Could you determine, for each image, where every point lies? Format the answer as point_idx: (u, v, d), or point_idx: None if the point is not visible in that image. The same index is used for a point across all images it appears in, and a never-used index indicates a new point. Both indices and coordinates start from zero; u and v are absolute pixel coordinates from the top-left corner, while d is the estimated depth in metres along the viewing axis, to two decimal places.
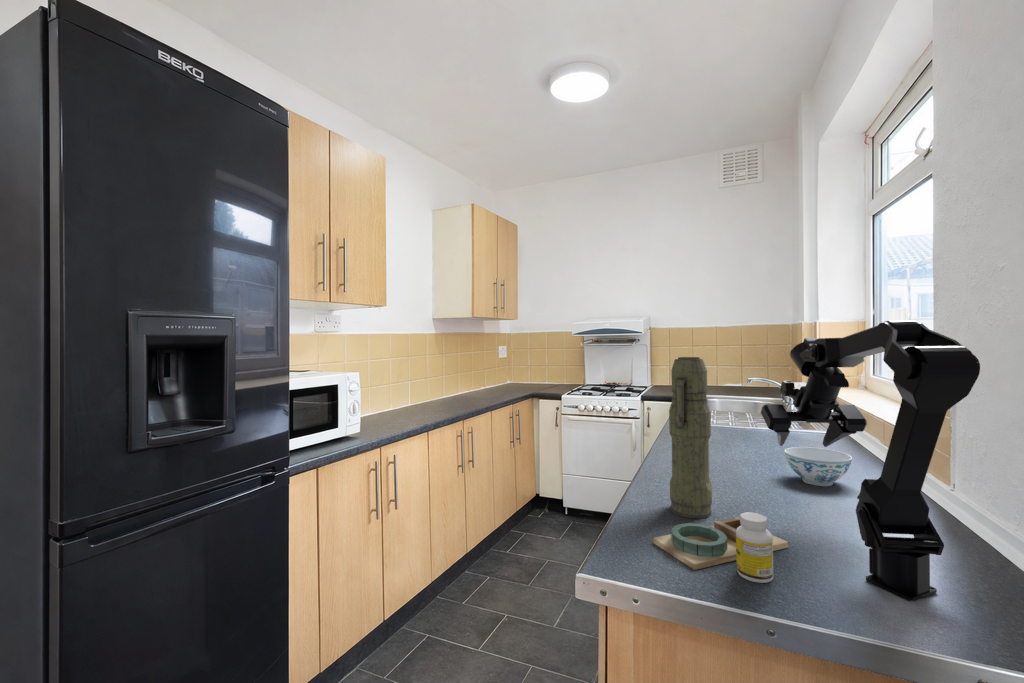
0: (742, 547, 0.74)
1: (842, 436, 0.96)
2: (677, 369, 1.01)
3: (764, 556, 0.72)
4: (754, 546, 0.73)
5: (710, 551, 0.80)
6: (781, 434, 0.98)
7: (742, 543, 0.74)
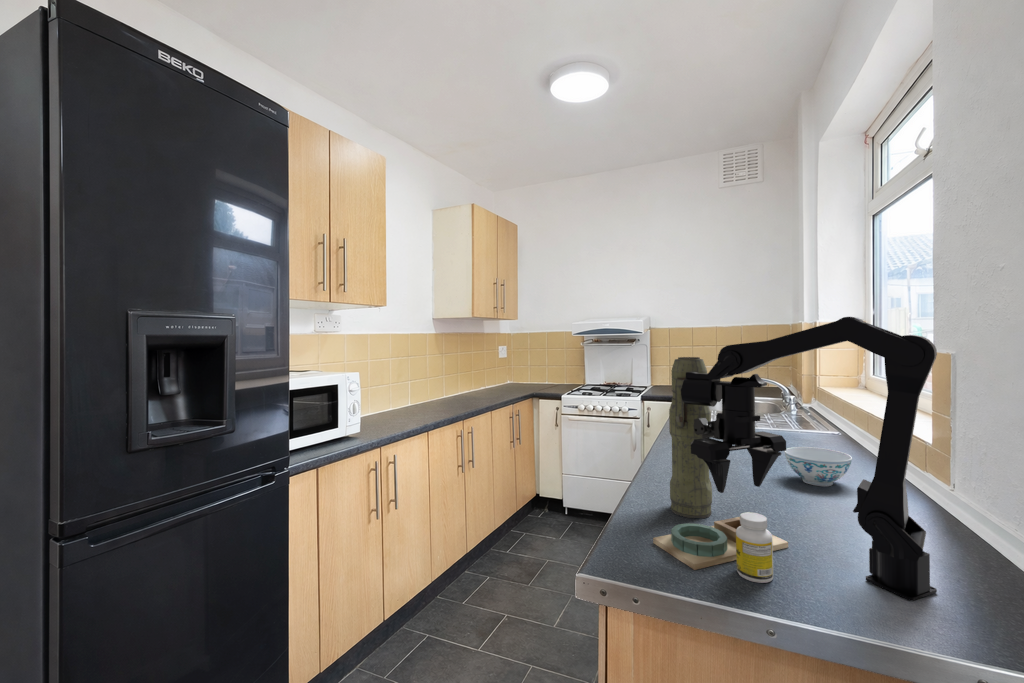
0: (742, 547, 0.74)
1: (772, 462, 0.87)
2: (677, 369, 1.01)
3: (764, 556, 0.73)
4: (754, 546, 0.73)
5: (710, 551, 0.80)
6: (723, 467, 0.83)
7: (742, 543, 0.74)
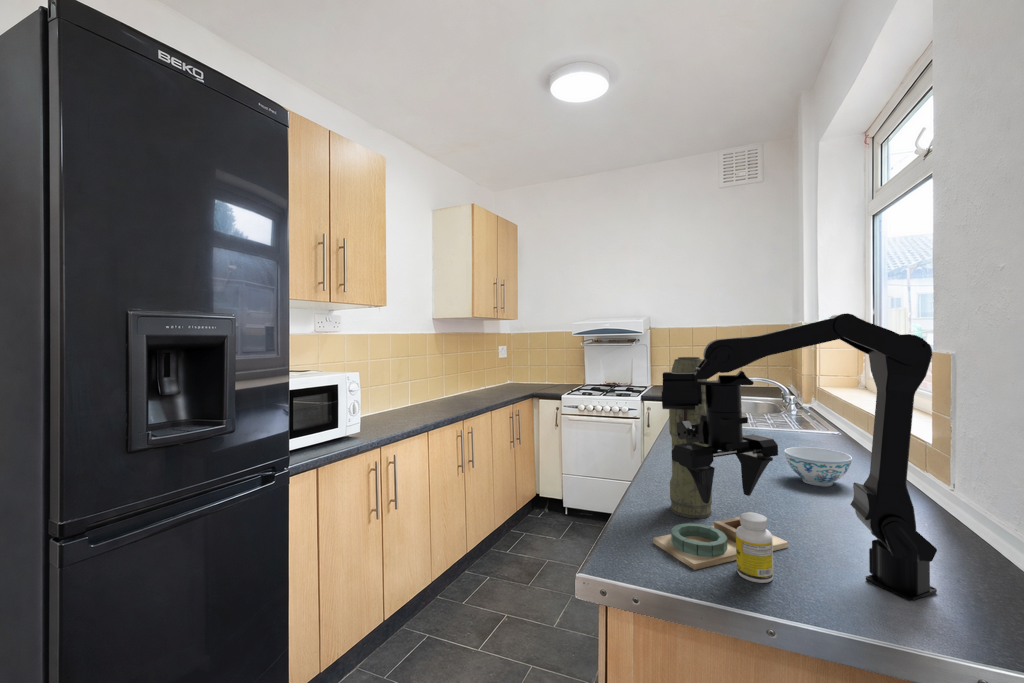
0: (742, 547, 0.74)
1: (762, 468, 0.79)
2: (677, 369, 1.01)
3: (764, 556, 0.72)
4: (754, 546, 0.73)
5: (710, 551, 0.80)
6: (707, 475, 0.75)
7: (742, 543, 0.74)
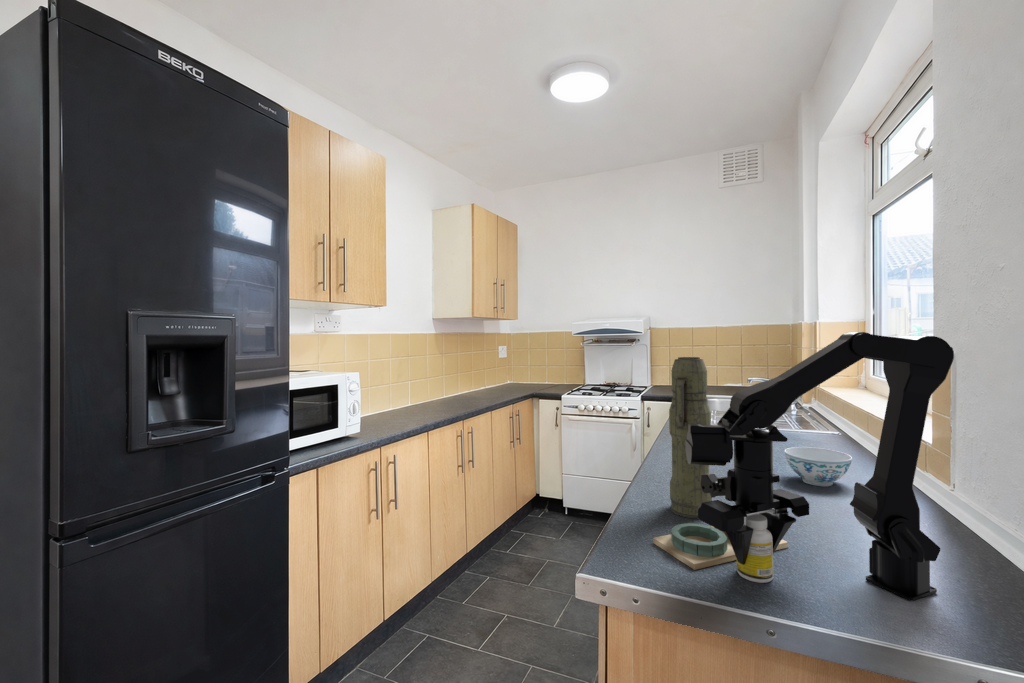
0: None
1: (785, 530, 0.74)
2: (677, 369, 1.01)
3: (764, 556, 0.72)
4: (754, 546, 0.73)
5: (710, 551, 0.80)
6: (745, 536, 0.71)
7: None
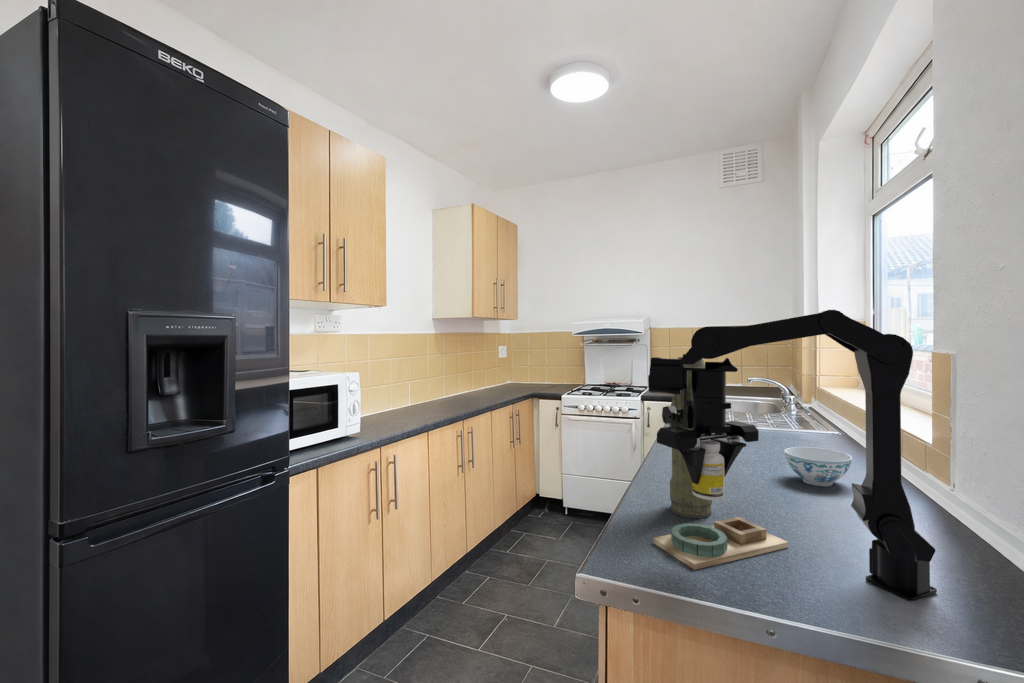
0: None
1: (735, 454, 0.81)
2: None
3: (715, 475, 0.79)
4: (707, 467, 0.80)
5: (710, 551, 0.80)
6: (698, 456, 0.78)
7: None
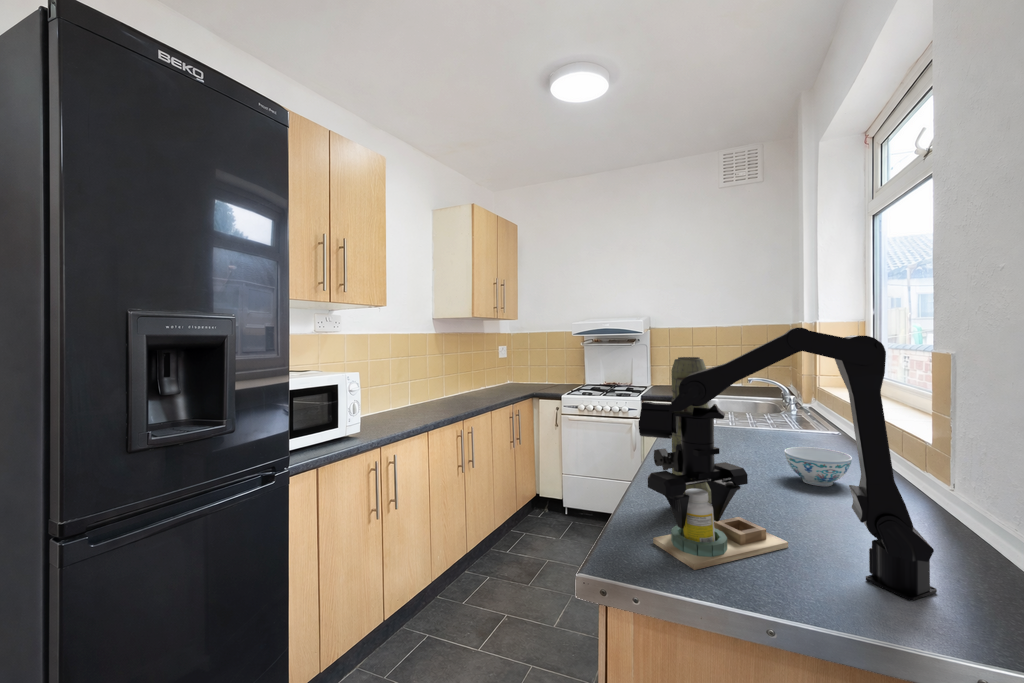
0: (686, 519, 0.83)
1: (730, 496, 0.84)
2: (677, 369, 1.01)
3: (705, 526, 0.82)
4: (696, 517, 0.82)
5: (710, 551, 0.80)
6: (682, 502, 0.80)
7: (686, 515, 0.83)
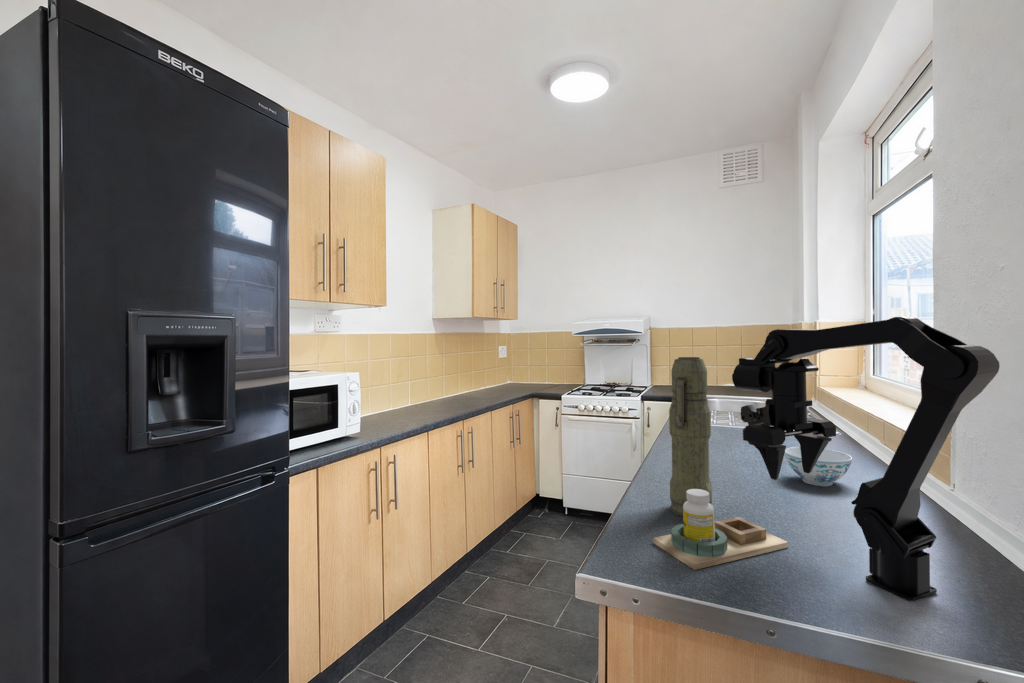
0: (687, 519, 0.83)
1: (822, 448, 0.87)
2: (677, 369, 1.01)
3: (705, 526, 0.82)
4: (696, 518, 0.82)
5: (710, 551, 0.80)
6: (779, 452, 0.82)
7: (687, 515, 0.83)
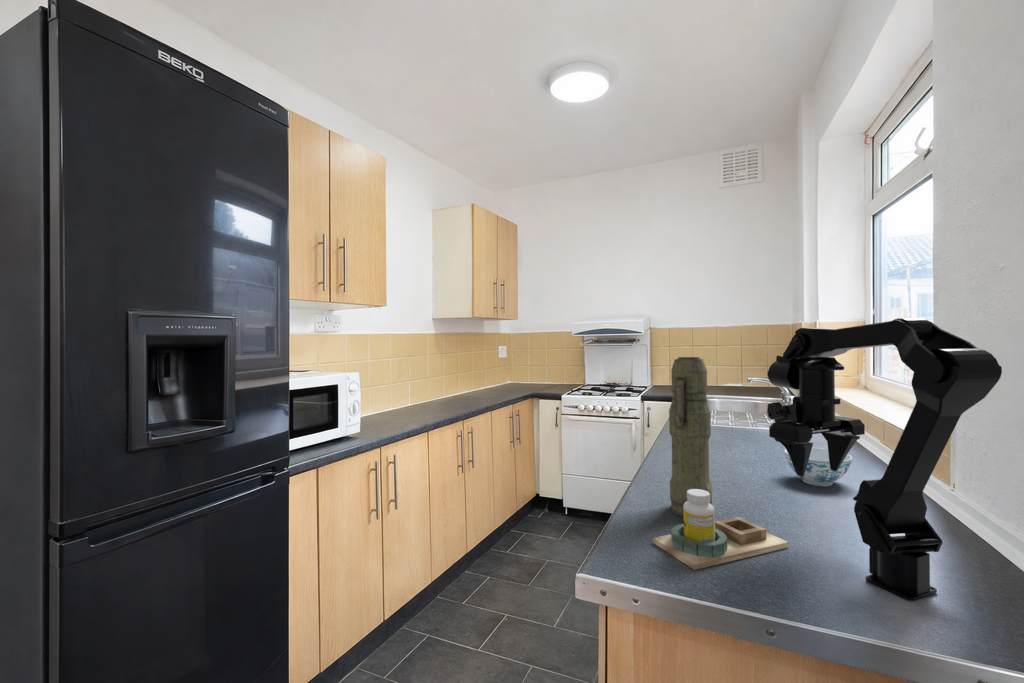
0: (687, 519, 0.83)
1: (850, 446, 0.87)
2: (677, 369, 1.01)
3: (706, 527, 0.82)
4: (697, 518, 0.82)
5: (710, 551, 0.80)
6: (806, 450, 0.83)
7: (688, 515, 0.83)
